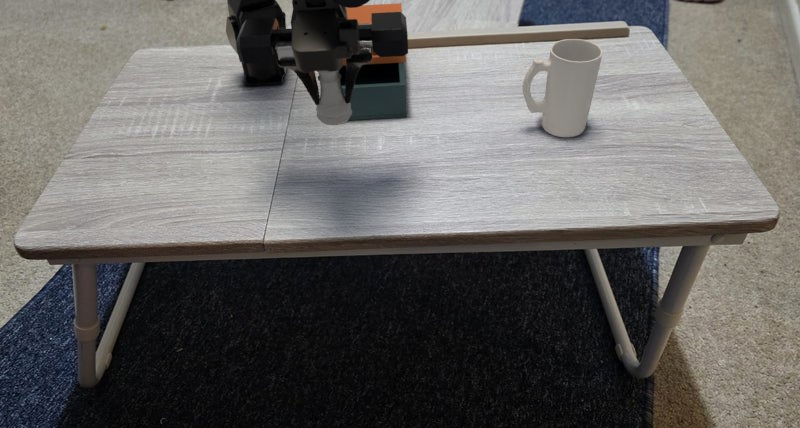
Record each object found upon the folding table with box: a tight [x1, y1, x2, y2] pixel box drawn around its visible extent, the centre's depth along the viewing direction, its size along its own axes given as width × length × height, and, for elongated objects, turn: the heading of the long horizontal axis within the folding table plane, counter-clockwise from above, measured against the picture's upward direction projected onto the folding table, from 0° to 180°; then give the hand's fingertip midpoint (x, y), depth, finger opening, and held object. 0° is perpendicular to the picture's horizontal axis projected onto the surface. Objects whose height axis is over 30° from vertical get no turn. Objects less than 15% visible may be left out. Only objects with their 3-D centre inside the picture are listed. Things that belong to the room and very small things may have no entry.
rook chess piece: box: [315, 69, 352, 126], centre depth 69 cm, size 4×4×8 cm
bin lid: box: [343, 2, 407, 66], centre depth 96 cm, size 20×12×3 cm, turn 2°
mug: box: [522, 38, 604, 138], centre depth 81 cm, size 10×7×12 cm, turn 92°
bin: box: [339, 62, 408, 121], centre depth 93 cm, size 19×12×6 cm, turn 2°
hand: (332, 102), depth 71 cm, fingers closed on rook chess piece, 3 cm apart
